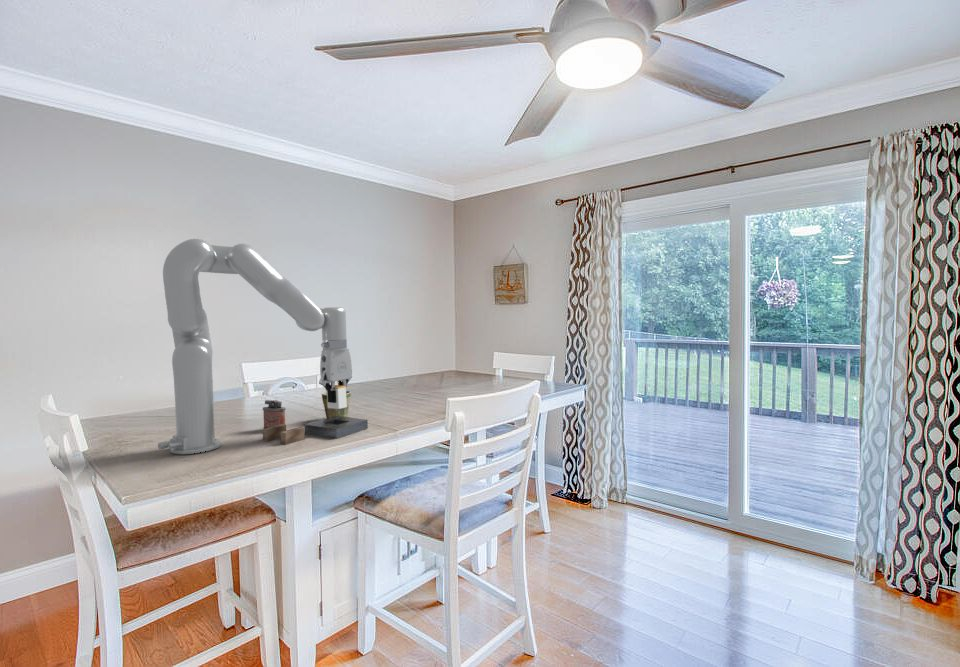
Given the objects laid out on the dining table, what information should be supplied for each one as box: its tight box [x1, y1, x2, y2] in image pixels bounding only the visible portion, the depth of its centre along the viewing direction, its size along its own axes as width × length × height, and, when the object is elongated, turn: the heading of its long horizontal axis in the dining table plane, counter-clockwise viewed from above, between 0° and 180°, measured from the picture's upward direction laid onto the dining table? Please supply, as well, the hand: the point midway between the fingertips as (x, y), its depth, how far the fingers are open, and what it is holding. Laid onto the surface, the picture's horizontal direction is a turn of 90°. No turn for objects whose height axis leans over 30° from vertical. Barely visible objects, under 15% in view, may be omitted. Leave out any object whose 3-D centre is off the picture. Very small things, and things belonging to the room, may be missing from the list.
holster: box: [262, 424, 305, 445], centre depth 148 cm, size 7×10×4 cm
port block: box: [303, 416, 369, 440], centre depth 157 cm, size 14×14×3 cm
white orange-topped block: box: [327, 384, 347, 409], centre depth 157 cm, size 4×5×7 cm
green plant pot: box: [321, 390, 352, 419], centre depth 174 cm, size 13×10×10 cm
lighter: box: [262, 399, 286, 430], centre depth 160 cm, size 8×3×10 cm, turn 74°
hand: (336, 400), depth 157 cm, fingers closed on white orange-topped block, 3 cm apart
